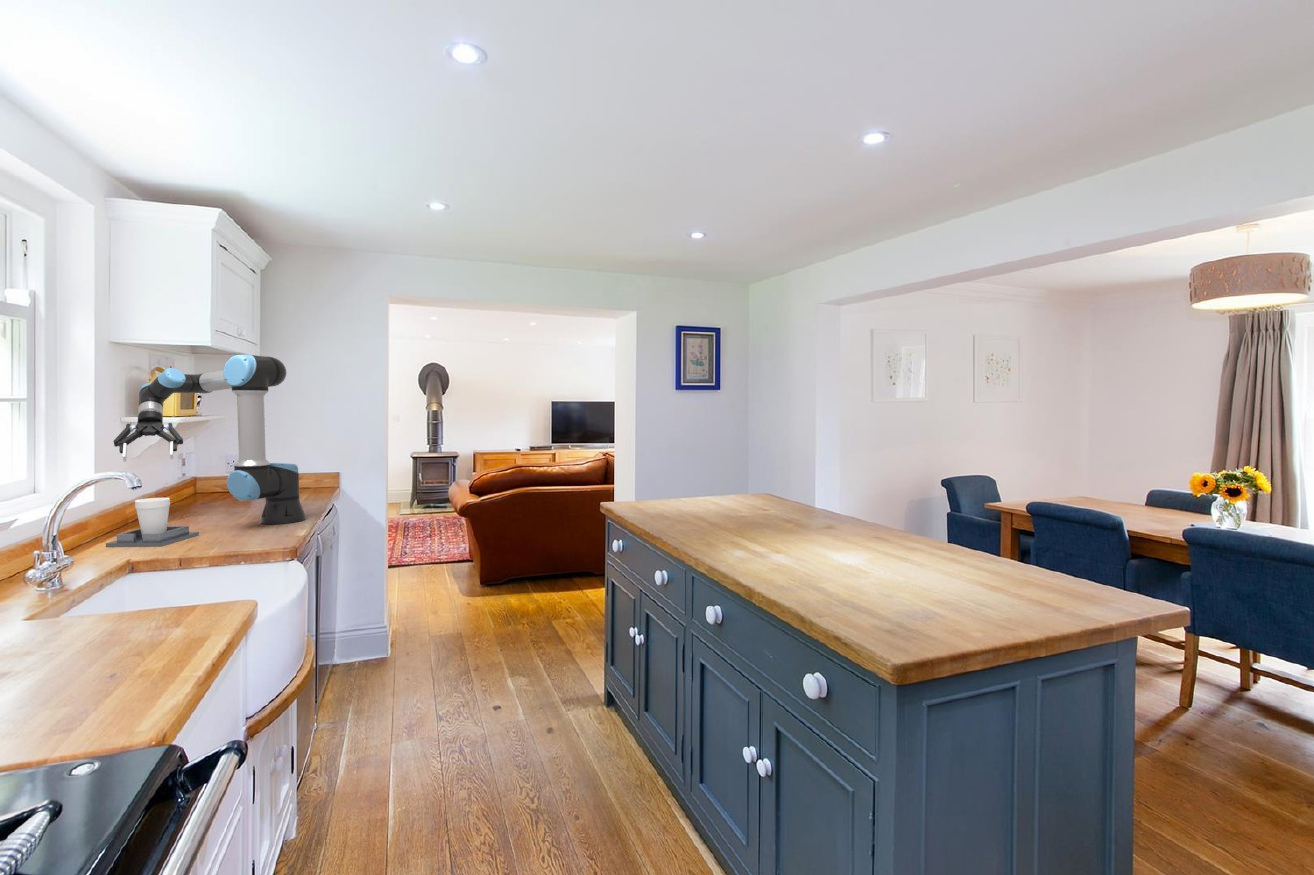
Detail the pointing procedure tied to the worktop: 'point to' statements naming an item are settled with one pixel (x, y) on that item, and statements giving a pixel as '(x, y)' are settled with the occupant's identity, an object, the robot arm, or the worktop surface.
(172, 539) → the pocket plate
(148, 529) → the foam cup
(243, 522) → the worktop surface
